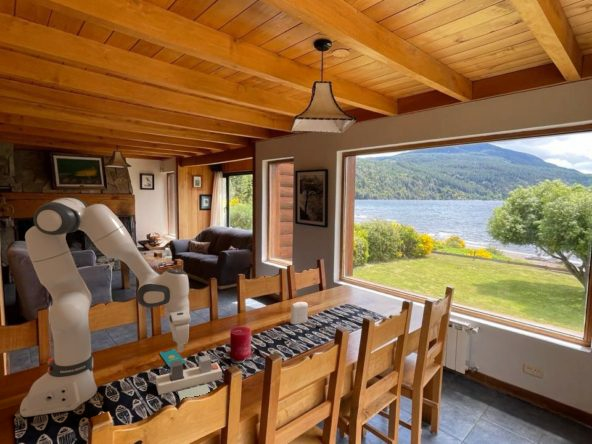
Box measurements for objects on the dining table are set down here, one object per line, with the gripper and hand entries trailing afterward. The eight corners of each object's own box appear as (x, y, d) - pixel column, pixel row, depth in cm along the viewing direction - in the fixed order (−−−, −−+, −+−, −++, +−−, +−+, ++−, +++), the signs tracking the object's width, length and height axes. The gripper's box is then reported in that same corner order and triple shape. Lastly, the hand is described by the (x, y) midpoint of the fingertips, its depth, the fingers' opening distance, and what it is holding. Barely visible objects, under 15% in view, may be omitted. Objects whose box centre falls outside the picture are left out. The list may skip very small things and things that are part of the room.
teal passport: (169, 367, 143) (158, 352, 155) (169, 369, 143) (158, 354, 155) (186, 362, 148) (174, 348, 159) (186, 364, 148) (174, 350, 159)
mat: (181, 403, 121) (181, 402, 121) (177, 392, 127) (177, 391, 127) (211, 394, 127) (211, 394, 127) (206, 385, 133) (206, 384, 133)
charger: (172, 389, 129) (172, 367, 128) (170, 383, 133) (170, 362, 132) (182, 386, 131) (183, 364, 130) (180, 381, 134) (181, 359, 133)
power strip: (158, 394, 125) (158, 373, 124) (156, 384, 131) (156, 364, 130) (221, 378, 137) (222, 359, 136) (216, 370, 143) (217, 351, 142)
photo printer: (304, 320, 201) (305, 299, 199) (308, 322, 197) (309, 302, 195) (289, 322, 196) (290, 301, 195) (292, 325, 192) (293, 304, 191)
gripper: (164, 303, 136) (165, 336, 138) (173, 322, 118) (174, 359, 120) (180, 301, 139) (181, 333, 141) (191, 319, 121) (192, 355, 123)
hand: (177, 345), depth 130 cm, fingers open, 8 cm apart
